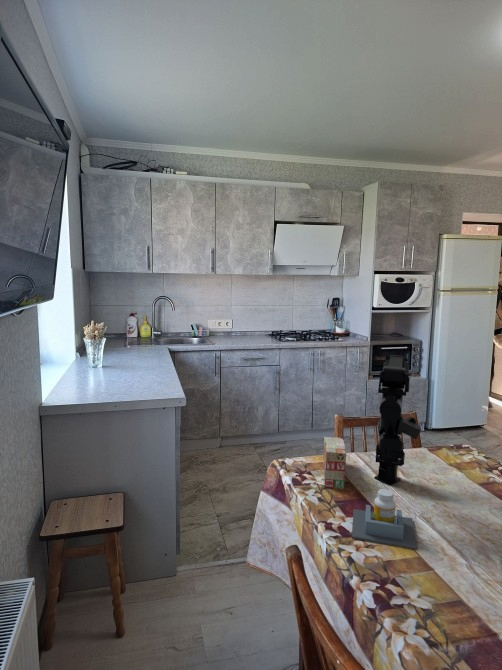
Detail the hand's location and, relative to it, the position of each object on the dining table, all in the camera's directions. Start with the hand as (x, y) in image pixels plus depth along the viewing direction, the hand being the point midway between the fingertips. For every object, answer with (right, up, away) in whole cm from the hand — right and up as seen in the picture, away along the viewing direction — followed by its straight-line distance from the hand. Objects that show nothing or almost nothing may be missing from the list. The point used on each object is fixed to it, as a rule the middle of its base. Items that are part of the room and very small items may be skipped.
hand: (387, 461), depth 130 cm
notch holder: (-5, -15, -13) cm, 20 cm away
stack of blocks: (-13, -11, +20) cm, 26 cm away
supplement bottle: (-5, -14, -13) cm, 20 cm away
